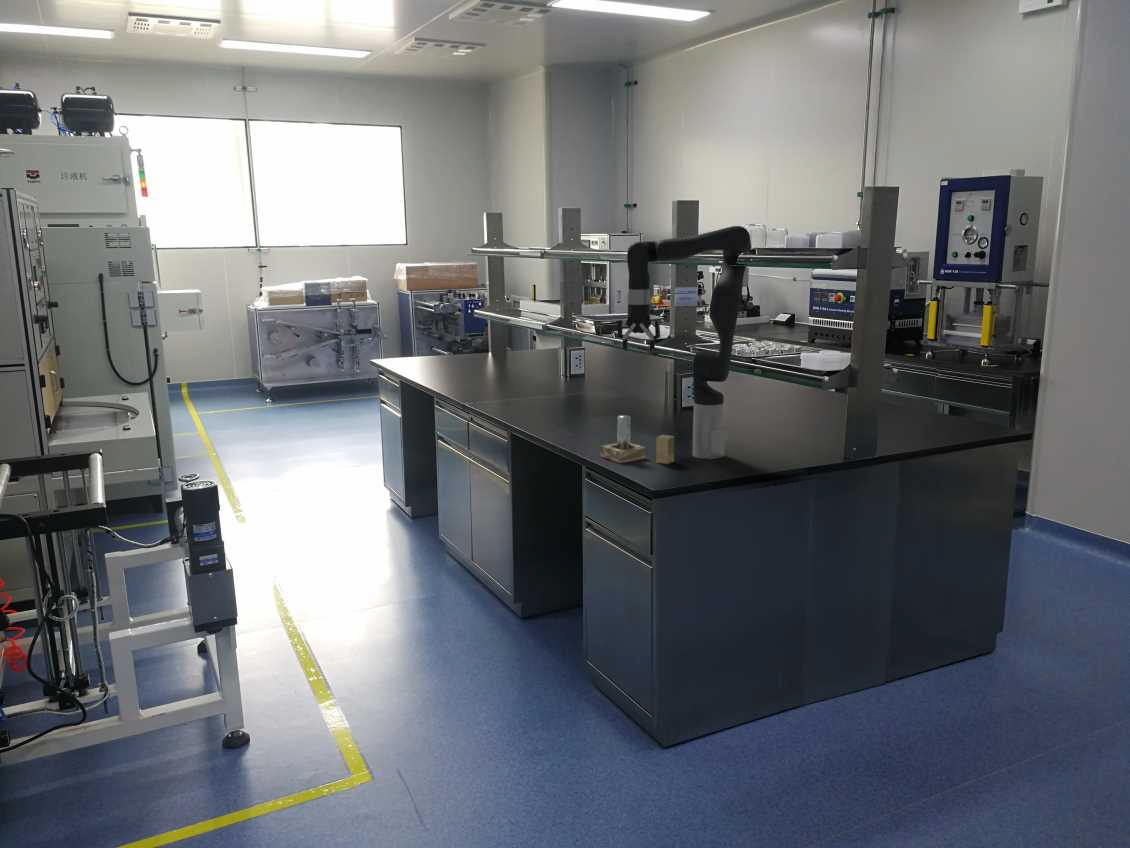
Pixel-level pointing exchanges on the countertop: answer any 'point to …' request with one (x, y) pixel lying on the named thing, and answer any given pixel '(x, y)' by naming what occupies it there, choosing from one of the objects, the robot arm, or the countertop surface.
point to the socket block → (622, 453)
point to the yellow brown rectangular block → (665, 449)
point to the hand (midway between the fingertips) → (638, 350)
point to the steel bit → (623, 432)
